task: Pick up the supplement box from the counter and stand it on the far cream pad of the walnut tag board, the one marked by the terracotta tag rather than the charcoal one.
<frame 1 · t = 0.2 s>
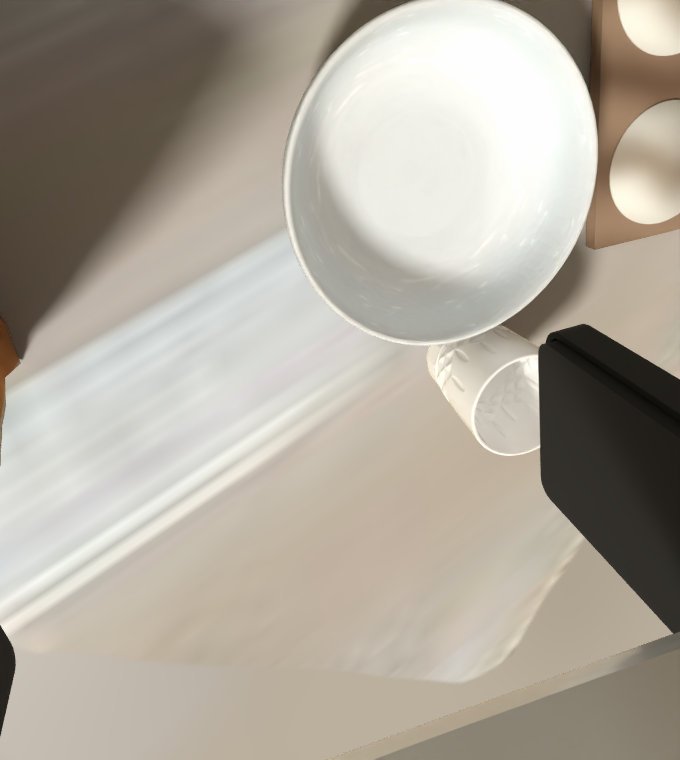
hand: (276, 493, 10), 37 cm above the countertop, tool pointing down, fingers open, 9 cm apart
white cup: (462, 350, 54), on the countertop
serving bowl: (410, 172, 46), on the countertop
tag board: (674, 74, 48), on the countertop
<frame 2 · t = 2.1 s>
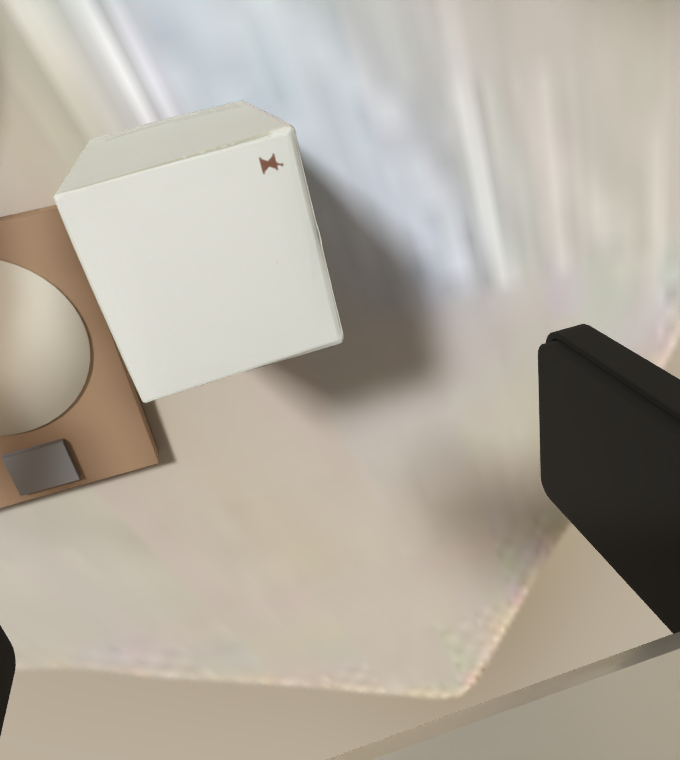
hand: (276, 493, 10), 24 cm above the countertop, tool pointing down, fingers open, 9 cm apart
supplement box: (191, 197, 31), on the countertop
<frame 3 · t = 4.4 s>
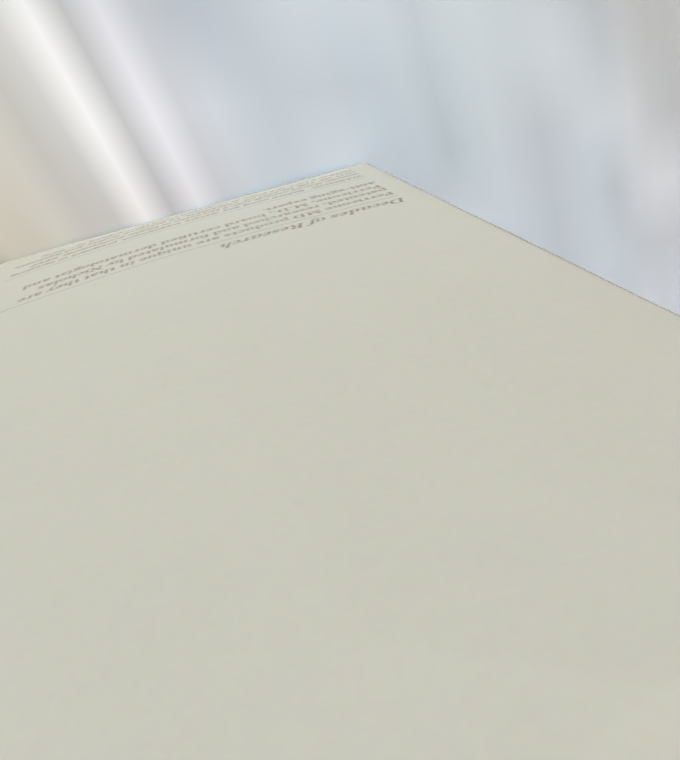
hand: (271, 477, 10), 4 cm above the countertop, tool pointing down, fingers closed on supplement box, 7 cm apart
supplement box: (239, 369, 14), on the countertop, touching gripper
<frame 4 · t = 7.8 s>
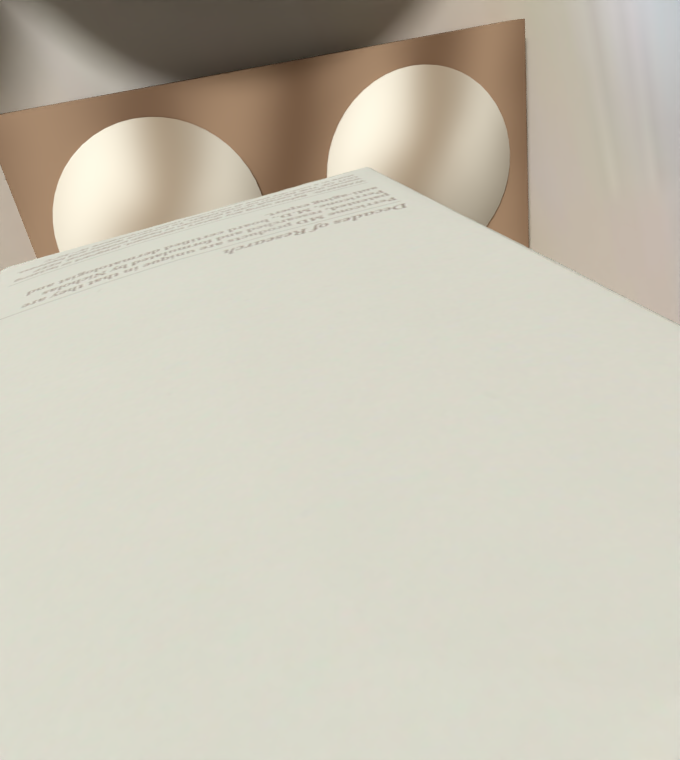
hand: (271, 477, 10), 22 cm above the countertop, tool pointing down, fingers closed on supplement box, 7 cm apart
supplement box: (241, 373, 14), point 18 cm above the countertop, touching gripper
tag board: (297, 224, 31), on the countertop
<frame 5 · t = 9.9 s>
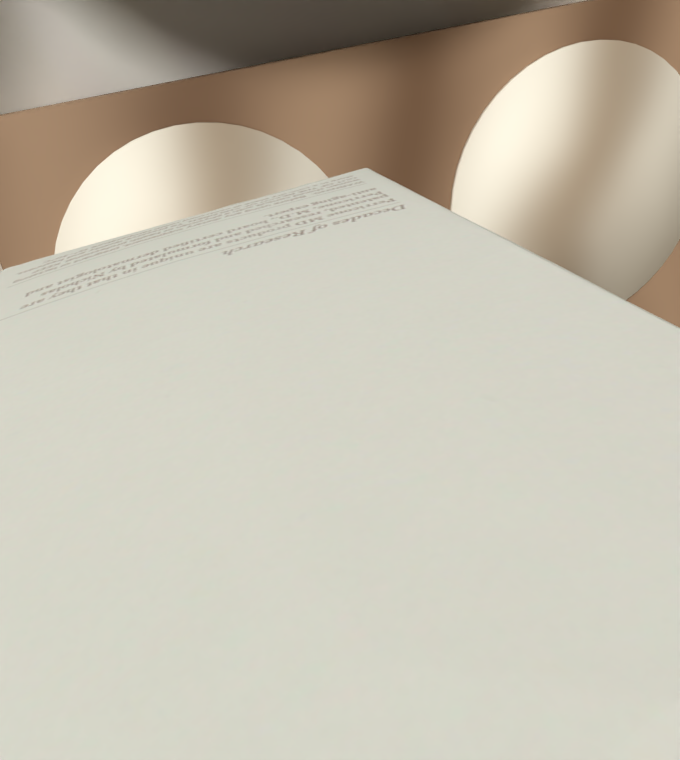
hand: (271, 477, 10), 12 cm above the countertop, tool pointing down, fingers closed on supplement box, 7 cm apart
supplement box: (241, 373, 14), point 7 cm above the countertop, touching gripper
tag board: (398, 271, 22), on the countertop
when the fingers open (7 cm above the countertop, at t = 11.5 s): supplement box drops 1 cm, resting on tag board.
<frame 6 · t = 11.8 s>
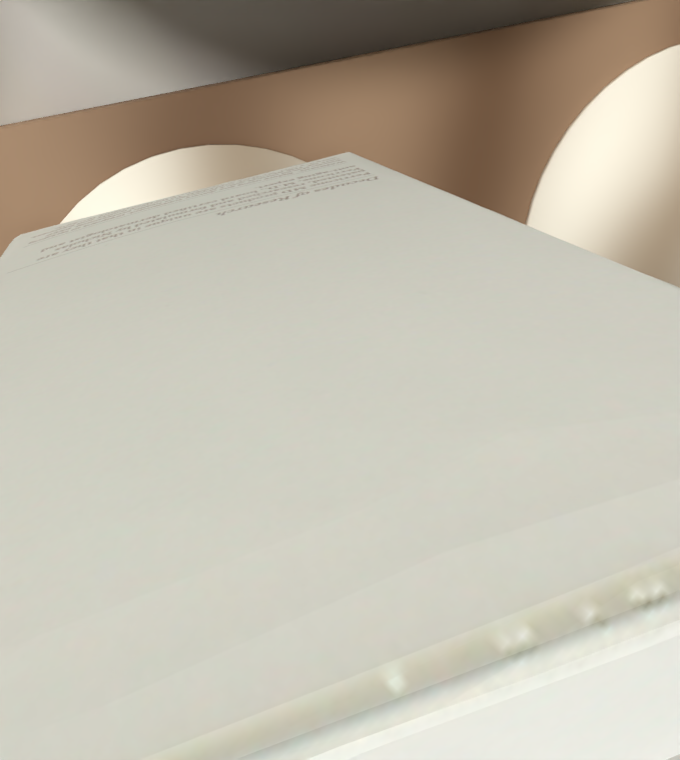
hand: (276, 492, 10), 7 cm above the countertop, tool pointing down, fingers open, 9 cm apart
supplement box: (232, 341, 15), point 1 cm above the countertop, touching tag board
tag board: (452, 321, 18), on the countertop
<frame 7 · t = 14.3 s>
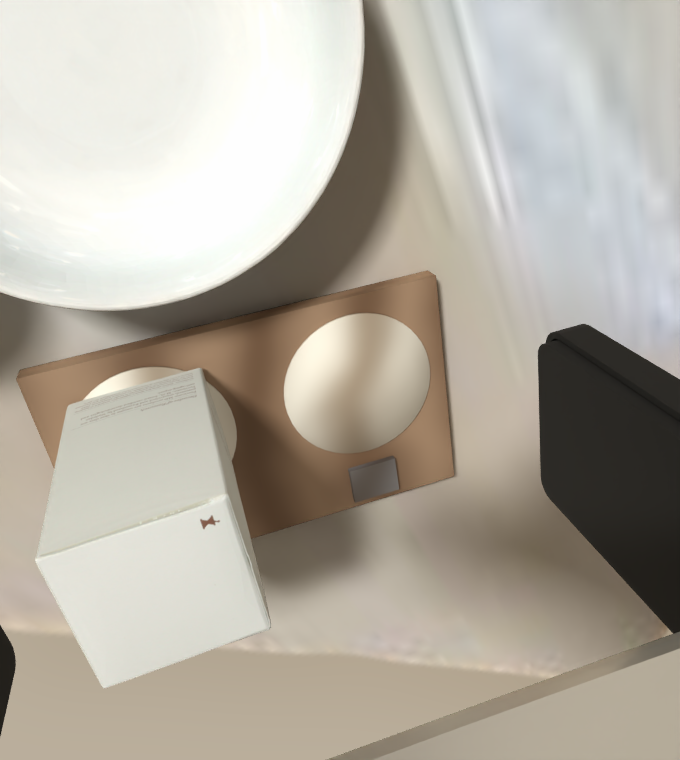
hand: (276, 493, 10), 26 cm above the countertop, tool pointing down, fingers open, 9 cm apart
supplement box: (155, 439, 36), point 1 cm above the countertop, touching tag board
serving bowl: (100, 45, 29), on the countertop
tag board: (261, 424, 39), on the countertop
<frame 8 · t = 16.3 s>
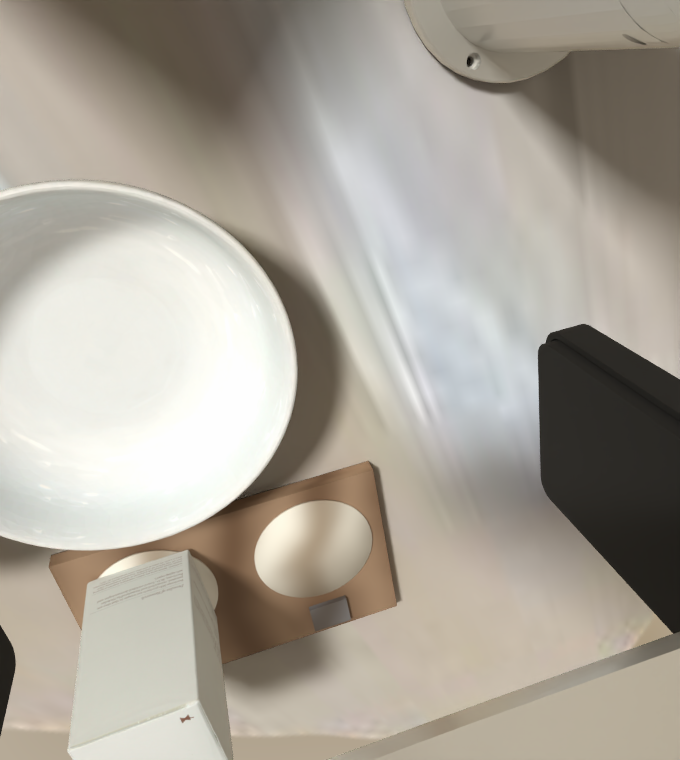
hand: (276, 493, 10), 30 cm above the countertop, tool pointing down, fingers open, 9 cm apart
supplement box: (154, 598, 47), point 1 cm above the countertop, touching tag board
serving bowl: (108, 339, 39), on the countertop
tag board: (239, 577, 49), on the countertop
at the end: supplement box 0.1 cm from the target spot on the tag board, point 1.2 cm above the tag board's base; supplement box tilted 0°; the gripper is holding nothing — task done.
